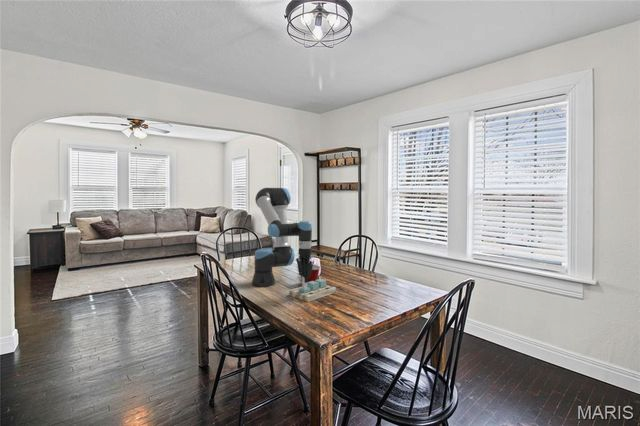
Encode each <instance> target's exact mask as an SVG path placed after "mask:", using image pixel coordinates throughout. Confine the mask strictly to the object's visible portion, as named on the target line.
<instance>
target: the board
mask: <svg viewBox="0 0 640 426" xmlns="http://www.w3.org/2000/svg"><path fill="white" fill-rule="evenodd" d="M301 287H302V286H300V287H296V288H293V289H292V288H291V289H289V291H288V296H291V297H292V298H296V299H299V300H302V301H305V302H306V303H309V302H312V301H314V300H317V299H320V298H323V297H326V296H328V295H332V294H335V293H337V288H336V287H335V286H333V285H332V286H331V285H327V284H326V287H323V288H319V289H317V290H314V291H312V290H310V292H309V293H305V294H304V293H301V292H299V288H301Z"/></svg>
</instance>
